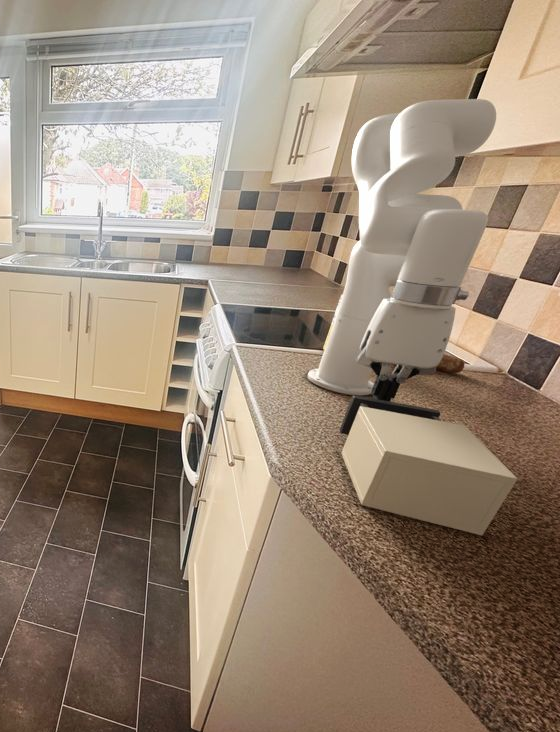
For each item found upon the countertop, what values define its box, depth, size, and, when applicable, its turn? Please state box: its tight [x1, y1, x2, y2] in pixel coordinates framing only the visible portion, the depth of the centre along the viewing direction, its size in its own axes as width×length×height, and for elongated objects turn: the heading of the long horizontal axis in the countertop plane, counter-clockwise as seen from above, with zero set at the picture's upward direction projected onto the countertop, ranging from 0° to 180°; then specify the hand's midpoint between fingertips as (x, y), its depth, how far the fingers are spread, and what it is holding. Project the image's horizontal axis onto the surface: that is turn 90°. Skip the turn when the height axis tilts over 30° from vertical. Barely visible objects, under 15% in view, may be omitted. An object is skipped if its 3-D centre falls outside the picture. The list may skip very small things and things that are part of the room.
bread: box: [436, 353, 465, 374], centre depth 105 cm, size 6×19×6 cm, turn 48°
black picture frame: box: [339, 395, 442, 436], centre depth 65 cm, size 17×11×7 cm
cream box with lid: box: [340, 406, 518, 536], centre depth 57 cm, size 14×13×9 cm
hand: (380, 400), depth 72 cm, fingers closed
